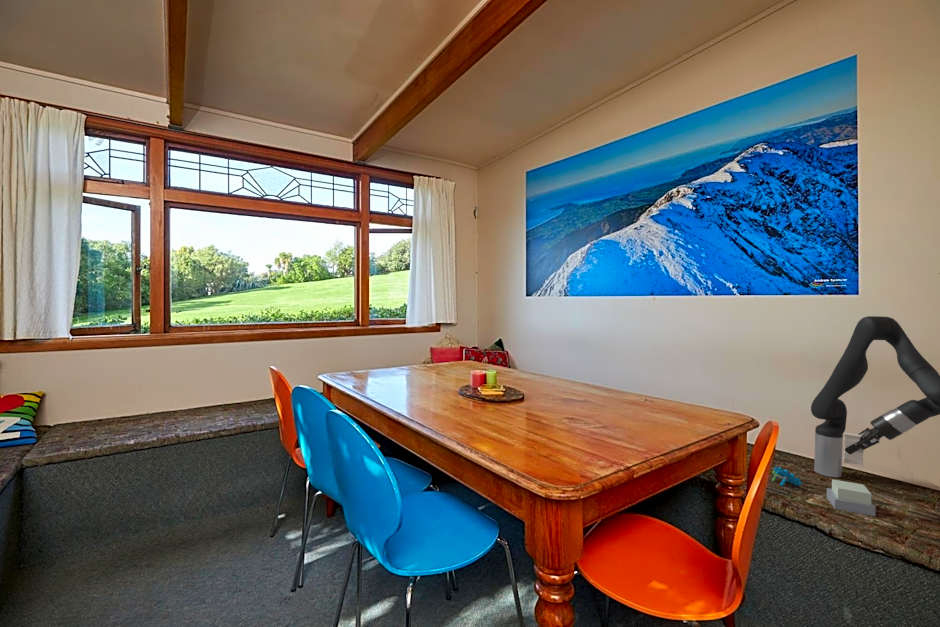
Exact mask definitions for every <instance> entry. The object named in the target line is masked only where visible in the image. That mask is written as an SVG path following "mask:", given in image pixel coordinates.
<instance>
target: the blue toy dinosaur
mask: <svg viewBox="0 0 940 627" xmlns="http://www.w3.org/2000/svg"><path fill="white" fill-rule="evenodd" d="M772 474H773V477H772V479H771V482H773V481H774V482H775V480H776V479H779V480H781V482H780V483H779V486H780V485H781V486H780V487H783V486H784V485H785V484H786V482H787V483H788V484H792V485H793V484H794V486H798V487H800V486H801V485H802V484H803V482H802V481H801V479H800V478H799V477H797V476H796V474H794V472H793V473H792V472H789V470H787V469H783V468H782V467H778V466H775V467H774V468H773V471H772ZM795 476H796V477H795Z"/></svg>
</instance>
